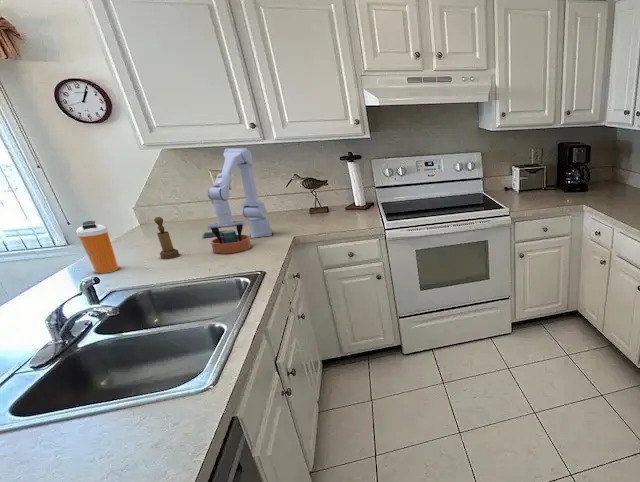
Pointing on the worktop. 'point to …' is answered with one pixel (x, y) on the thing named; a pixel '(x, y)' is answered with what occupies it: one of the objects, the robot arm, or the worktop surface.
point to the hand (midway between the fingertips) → (231, 242)
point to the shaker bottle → (97, 246)
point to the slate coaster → (211, 234)
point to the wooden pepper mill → (165, 241)
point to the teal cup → (229, 236)
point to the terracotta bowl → (231, 245)
